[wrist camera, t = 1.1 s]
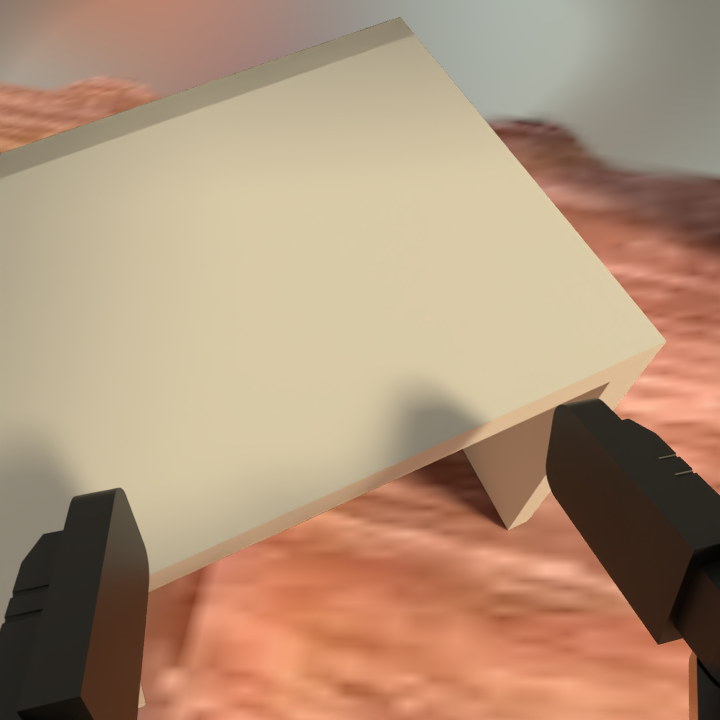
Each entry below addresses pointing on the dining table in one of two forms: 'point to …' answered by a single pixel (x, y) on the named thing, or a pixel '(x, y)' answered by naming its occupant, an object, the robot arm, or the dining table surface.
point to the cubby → (288, 306)
